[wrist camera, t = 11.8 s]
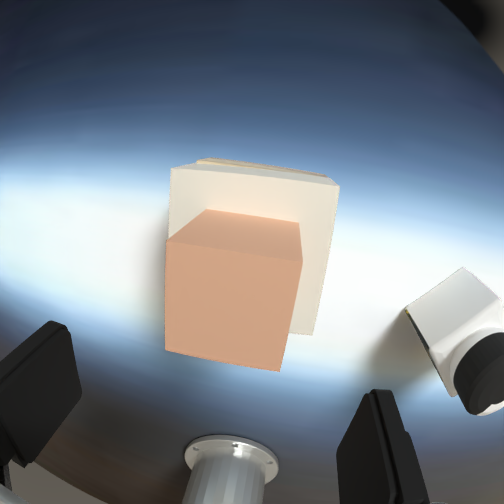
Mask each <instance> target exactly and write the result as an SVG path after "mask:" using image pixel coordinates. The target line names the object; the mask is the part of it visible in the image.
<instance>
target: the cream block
mask: <svg viewBox="0 0 504 504" xmlns="http://www.w3.org/2000/svg"><path fill="white" fill-rule="evenodd" d="M339 190H340V186H339V185H337V184H336V183H335V182H334V181H333V180H331V179H330V178H327V177H320V176H313V175H306V174H298V173H291V172H283V171H274V170H266V169H256V168H247V167H236V166H226V165H214V164H201V163H192V164H188V165H183V166H179V167H174V168H171V178H170V199H169V233H168V239H169V238H170V237H171V236H173V235H174V234H175V233H176V232H178V231H179V230H180V229H181V228H183V227H184V226H185V225H186V224H188V223H189V222H190V221H191V220H193V219H194V218H195V217H196V216H198V215H199V214H200V213H201V212H203V211H204V210H205V209H211V210H218V211H225V212H232V213H239V214H246V215H253V216H259V217H266V218H273V219H279V220H285V221H292V222H298V223H299V228H300V237H301V247H302V257H303V265H302V270H301V275H300V280H299V285H298V290H297V295H296V300H295V305H294V310H293V314H292V319H291V324H290V328H289V333H294V334H303V335H313V330H314V326H315V321H316V317H317V312H318V307H319V303H320V298H321V293H322V288H323V283H324V278H325V273H326V267H327V262H328V257H329V251H330V245H331V240H332V234H333V228H334V222H335V216H336V209H337V203H338V196H339Z"/></svg>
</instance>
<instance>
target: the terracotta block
mask: <svg viewBox="0 0 504 504" xmlns="http://www.w3.org/2000/svg"><path fill="white" fill-rule="evenodd" d="M302 265H303V257H302V247H301V237H300V228H299V223H298V222H292V221H285V220H279V219H273V218H266V217H259V216H253V215H246V214H239V213H232V212H225V211H218V210H211V209H205V210H204V211H203V212H201V213H200V214H199V215H198V216H196V217H195V218H194V219H193V220H191V221H190V222H189V223H188V224H186V225H185V226H184V227H183V228H181V229H180V230H179V231H178V232H176V233H175V234H174V235H173V236H171V237H170V238H169V239H168V240H166V264H165V350H167V351H171V352H176V353H180V354H184V355H189V356H194V357H198V358H203V359H208V360H213V361H218V362H223V363H229V364H234V365H240V366H245V367H251V368H257V369H264V370H270V371H277V372H280V368H281V364H282V359H283V355H284V351H285V346H286V342H287V337H288V333H289V328H290V324H291V319H292V314H293V310H294V305H295V300H296V295H297V290H298V285H299V280H300V275H301V270H302Z"/></svg>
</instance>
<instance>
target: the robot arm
mask: <svg viewBox="0 0 504 504" xmlns="http://www.w3.org/2000/svg"><path fill="white" fill-rule="evenodd" d="M81 394H82V389H81V385H80V380H79V376H78V371H77V366H76V361H75V356H74V351H73V345H72V339H71V334H70V332H69V331H68V329H67V327H66V326H65V325H63V324H60V323H57V322H55V321H48V322H47V323H46V324H44V325H43V326H42V327H41V328H39V329H38V330H37V331H36V332H35V333H33V334H32V335H31V336H30V337H29V338H27V339H26V340H25V341H24V342H23V343H21V344H20V345H19V346H18V347H17V348H16V349H14V350H13V351H12V352H11V353H10V354H9V355H7V356H6V357H5V358H4V359H3V360H2V361H0V504H30V503H28V502H27V501H25V500H24V499H22V498H21V497H19V496H18V495H16V494H15V493H13V492H12V487H11V481H10V474H9V466H8V463H9V461H10V460H11V459H12V460H13V461H14V462H15V463H17V464H19V465H20V466H22V467H23V468H25V467H26V465H27V464H28V463H32V462H33V461H34V460H35V459H36V457H37V456H38V455H39V453H40V452H41V450H42V449H43V448H44V446H45V445H46V444H47V442H48V441H49V439H50V438H51V437H52V435H53V434H54V433H55V431H56V430H57V429H58V427H59V426H60V425H61V423H62V422H63V421H64V419H65V418H66V417H67V415H68V414H69V413H70V411H71V410H72V409H73V407H74V406H75V405H76V404H77V402H78V401H79V400H80V398H81ZM336 459H337V471H338V484H339V497H340V504H446V503H443V502H434V503H430V501H429V498H428V494H427V490H426V487H425V483H424V479H423V476H422V472H421V469H420V466H419V462H418V459H417V456H416V452H415V449H414V446H413V443H412V440H411V437H410V435H409V433H408V432H406V431H405V429H404V426H403V423H402V420H401V417H400V414H399V411H398V408H397V405H396V402H395V399H394V396H393V393H392V391H390V390H379V389H373V390H371V392H370V393H369V394H368V393H366V394H365V395H364V397H363V399H362V401H361V403H360V405H359V407H358V409H357V411H356V413H355V415H354V417H353V419H352V421H351V423H350V425H349V427H348V429H347V431H346V433H345V435H344V437H343V439H342V441H341V443H340V444H339V446H338V449H337V454H336ZM185 461H186V463H187V465H188V466H189V468H190V469H191V470H192V472H191V475H190V479H189V482H188V485H187V488H186V491H185V495H184V498H183V501H182V504H262V501H263V493H264V485H265V484H266V483H268V482H269V481H271V480H272V479H274V478H275V476H276V475H277V473H278V464H279V462H278V460H277V457H276V456H275V455H274V453H273V452H271V451H270V450H269V449H268V448H266V447H265V446H263V445H261V444H259V443H257V442H255V441H252V440H249V439H246V438H242V437H237V436H230V435H209V436H204V437H200V438H197V439H195V440H193V441H192V442H191V443H190V444H189V445H188V447H187V448H186V452H185Z"/></svg>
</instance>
